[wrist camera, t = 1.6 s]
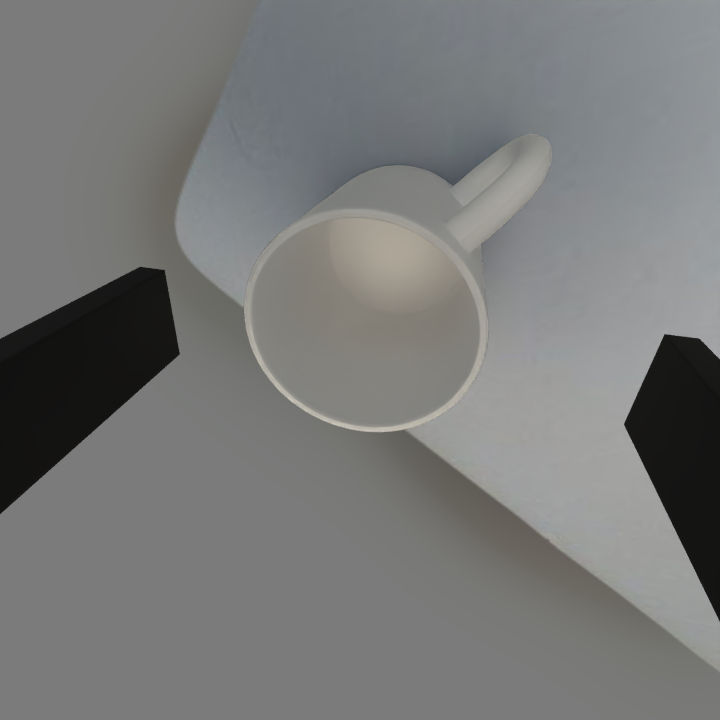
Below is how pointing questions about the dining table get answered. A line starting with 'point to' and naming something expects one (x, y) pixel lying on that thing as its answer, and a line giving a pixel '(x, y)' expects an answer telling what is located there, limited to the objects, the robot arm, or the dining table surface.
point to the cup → (387, 290)
